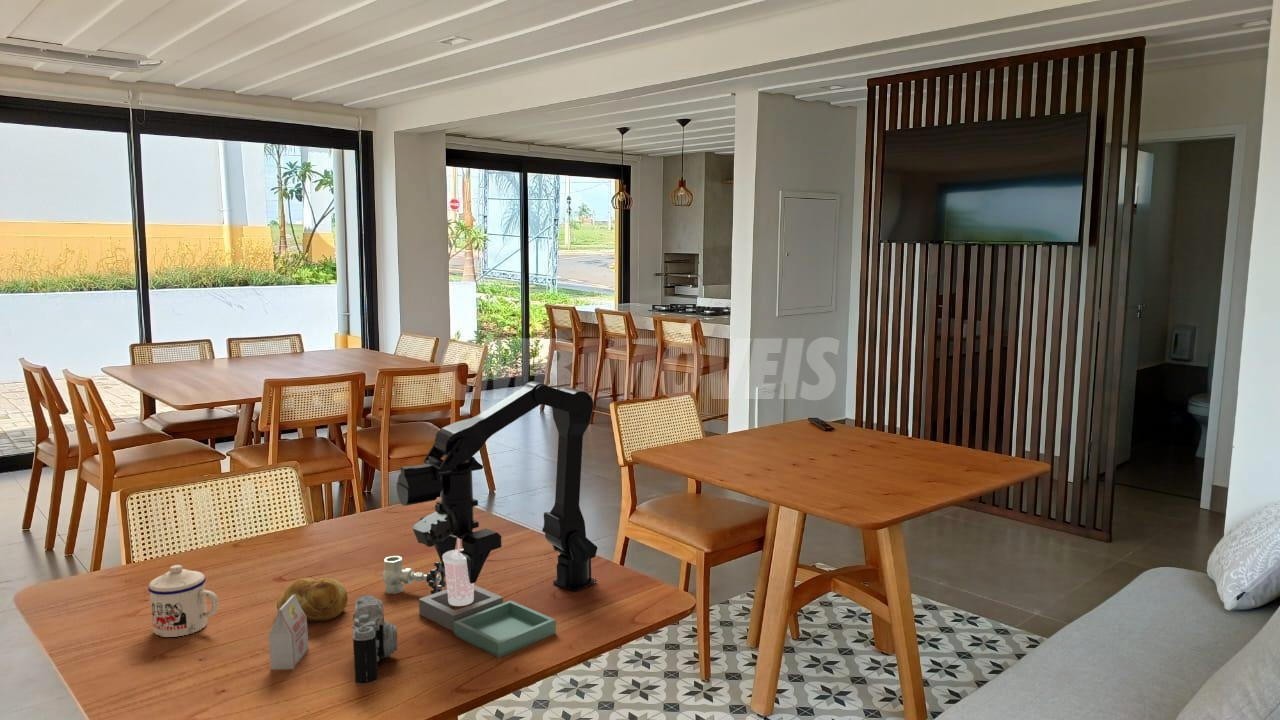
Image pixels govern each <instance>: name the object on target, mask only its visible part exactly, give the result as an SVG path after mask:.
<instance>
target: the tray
mask: <svg viewBox="0 0 1280 720" xmlns="http://www.w3.org/2000/svg"><path fill="white" fill-rule="evenodd" d="M556 624H557V622H556V618H553V617H550V616H548V615H546V614H543V613H541V612H539V611H537V610H534V609H532V608H530V607H527V606H525V605H522V604H520V603H518V602H516V601H514V600H507V601H504V602H503V603H502V604H499V605H497V606H494V607H492V608H489V609H486V610H484V611H481V612H478V613H476V614H473V615H470V616H468V617H465V618H462V619H460V620H457V621H455V622H454V631H453V635H454V636H455V637H456V638H458V639H460V640H463V641H464V642H467V643H468V644H470V645H472V646H474V647H477V648H479V649H480V650H482V651H484V652H486V653H487V654H490V655H492V656H493V657H497V658H498V659H499V658H502V657H505V656H506V655H510V654H511V653H513V652H516V651H519V650H521V649H523V648H524V647H527V646H530V645H533V644H534V643H537V642H540V641H542V640H544V639H545V638H548V637H550V636H553V635H555V634H557V625H556Z"/></svg>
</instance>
